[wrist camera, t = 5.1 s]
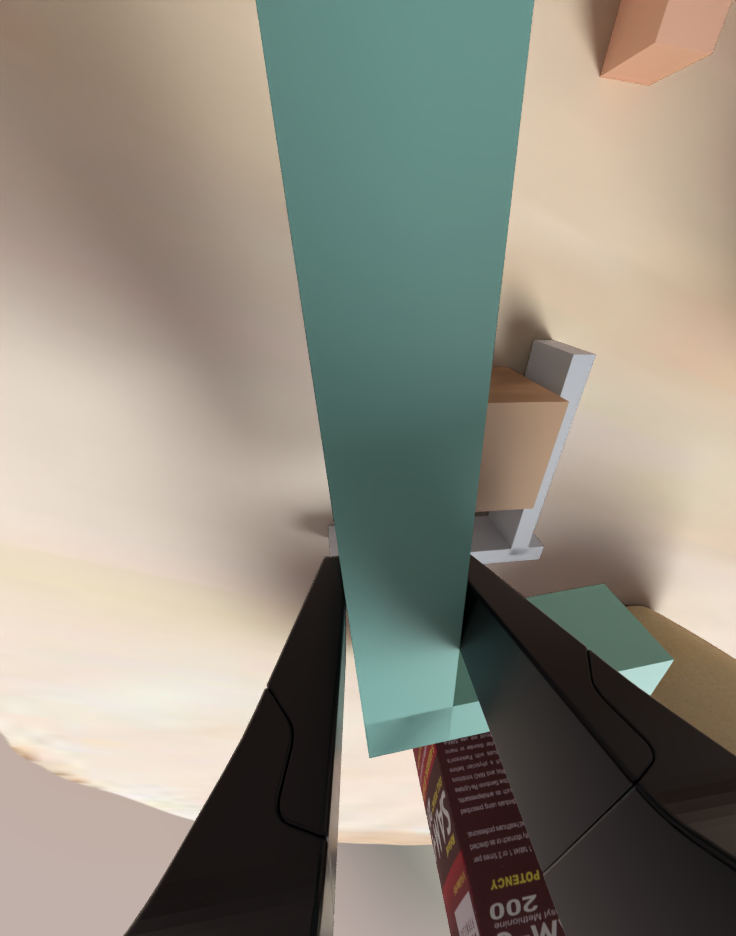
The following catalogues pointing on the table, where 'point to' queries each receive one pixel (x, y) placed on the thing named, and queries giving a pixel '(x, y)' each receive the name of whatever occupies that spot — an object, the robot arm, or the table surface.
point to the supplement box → (482, 843)
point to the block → (517, 440)
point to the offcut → (661, 37)
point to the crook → (411, 326)
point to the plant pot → (695, 678)
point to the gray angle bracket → (513, 529)
